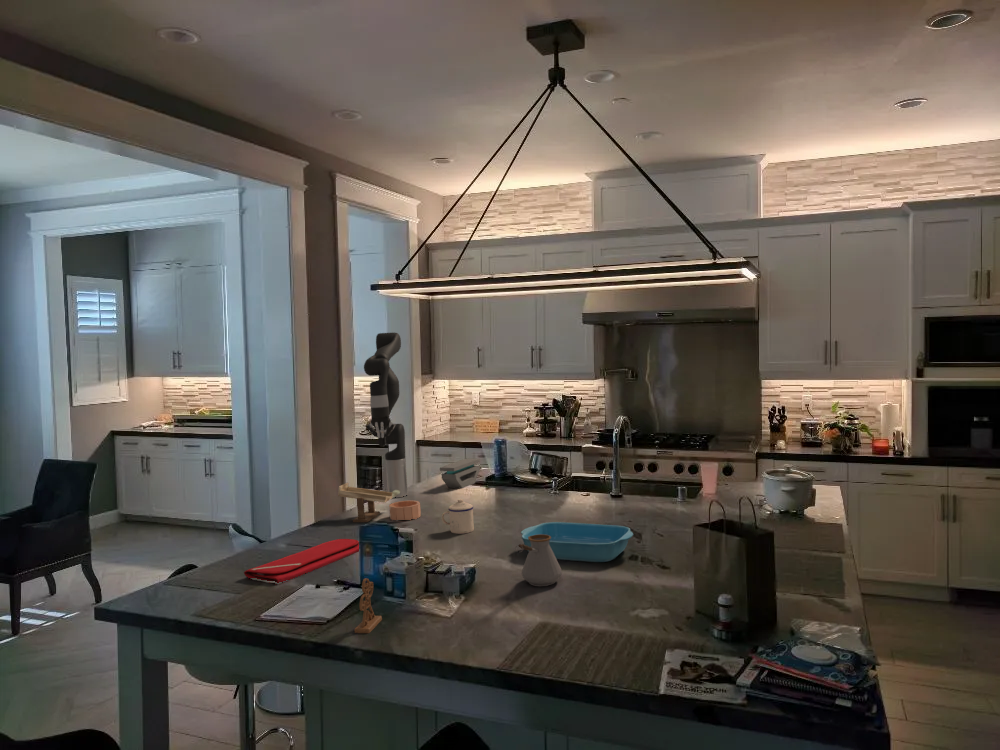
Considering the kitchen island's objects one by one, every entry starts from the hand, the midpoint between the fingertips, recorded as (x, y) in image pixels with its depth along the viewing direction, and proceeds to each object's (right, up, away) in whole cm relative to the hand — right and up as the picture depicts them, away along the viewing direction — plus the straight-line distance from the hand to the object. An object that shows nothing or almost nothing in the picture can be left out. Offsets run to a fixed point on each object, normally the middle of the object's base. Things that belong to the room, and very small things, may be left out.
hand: (382, 446), depth 315 cm
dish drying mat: (-13, -32, -71) cm, 79 cm away
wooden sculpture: (+17, -33, -129) cm, 134 cm away
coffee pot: (+60, -29, -108) cm, 127 cm away
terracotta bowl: (+12, -27, -16) cm, 34 cm away
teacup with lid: (+35, -27, -42) cm, 61 cm away
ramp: (-4, -19, -8) cm, 21 cm away
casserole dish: (+74, -27, -78) cm, 111 cm away
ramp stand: (-4, -28, -13) cm, 31 cm away
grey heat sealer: (+31, -23, +43) cm, 58 cm away
